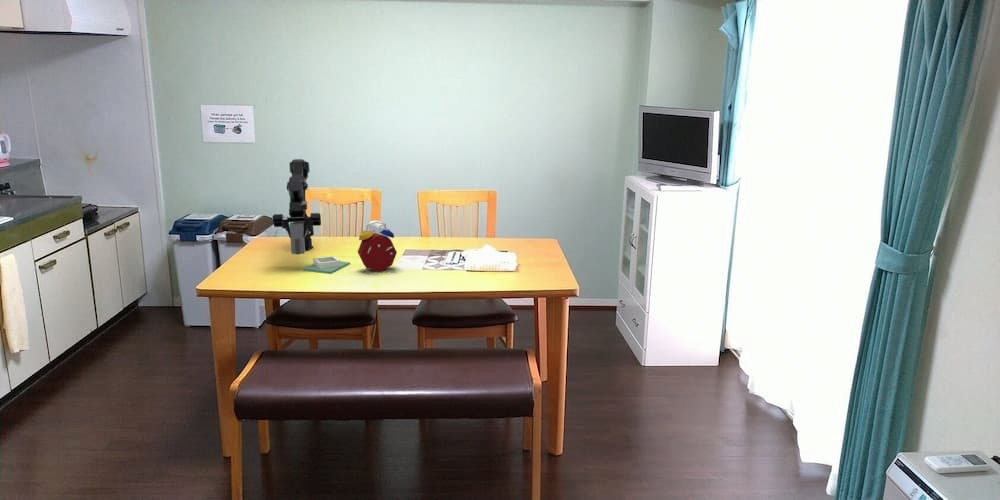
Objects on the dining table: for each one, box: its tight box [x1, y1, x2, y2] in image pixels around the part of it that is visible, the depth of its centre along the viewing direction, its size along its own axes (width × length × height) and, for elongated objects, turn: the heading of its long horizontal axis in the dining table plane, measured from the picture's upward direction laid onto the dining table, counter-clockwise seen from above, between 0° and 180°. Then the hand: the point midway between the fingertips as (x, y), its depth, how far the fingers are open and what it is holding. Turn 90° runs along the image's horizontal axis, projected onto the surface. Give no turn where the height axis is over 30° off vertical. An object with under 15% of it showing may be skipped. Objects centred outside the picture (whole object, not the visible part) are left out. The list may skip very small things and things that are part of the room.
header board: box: [302, 255, 351, 274], centre depth 297 cm, size 13×15×3 cm
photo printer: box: [368, 220, 387, 236], centre depth 328 cm, size 10×4×12 cm, turn 39°
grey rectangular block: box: [289, 222, 306, 255], centre depth 291 cm, size 5×5×12 cm
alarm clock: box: [357, 222, 398, 273], centre depth 291 cm, size 15×9×20 cm, turn 111°
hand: (297, 237), depth 290 cm, fingers closed on grey rectangular block, 5 cm apart
